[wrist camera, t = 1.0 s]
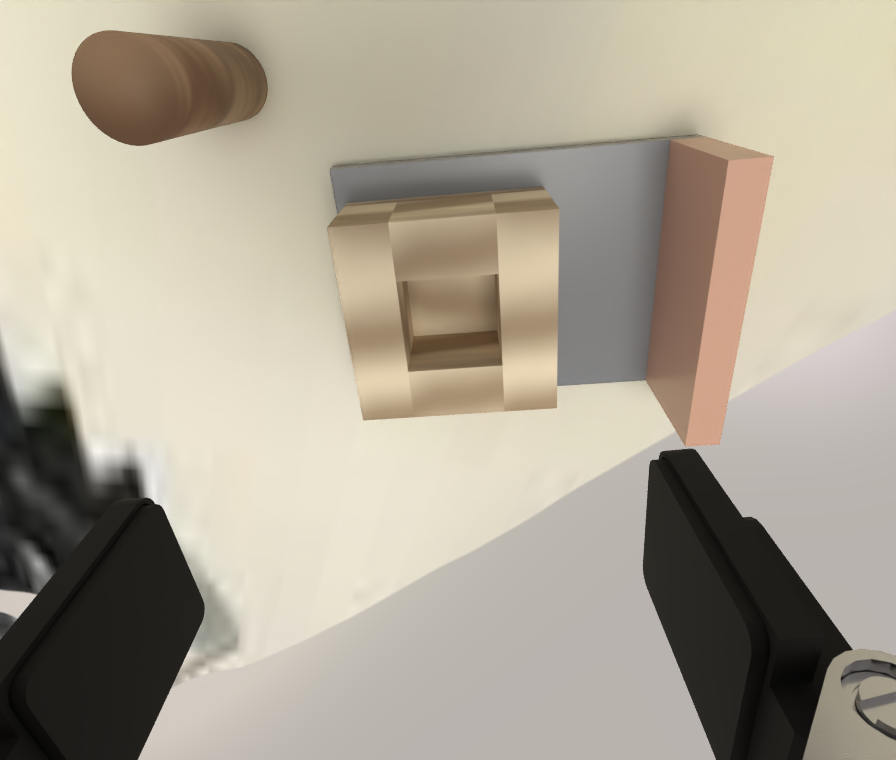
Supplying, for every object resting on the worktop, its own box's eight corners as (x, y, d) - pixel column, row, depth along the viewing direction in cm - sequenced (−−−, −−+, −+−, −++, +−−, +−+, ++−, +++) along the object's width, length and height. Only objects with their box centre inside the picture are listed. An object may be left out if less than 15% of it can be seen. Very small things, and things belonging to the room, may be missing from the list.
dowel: (188, 45, 31) (54, 36, 21) (257, 38, 31) (157, 25, 21) (208, 123, 33) (95, 149, 23) (274, 117, 33) (190, 141, 23)
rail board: (333, 166, 34) (296, 196, 26) (697, 134, 33) (774, 156, 25) (372, 389, 42) (352, 465, 34) (668, 370, 41) (719, 444, 33)
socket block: (346, 203, 34) (327, 227, 29) (543, 186, 34) (559, 208, 28) (375, 374, 40) (363, 420, 35) (543, 362, 40) (556, 408, 34)
